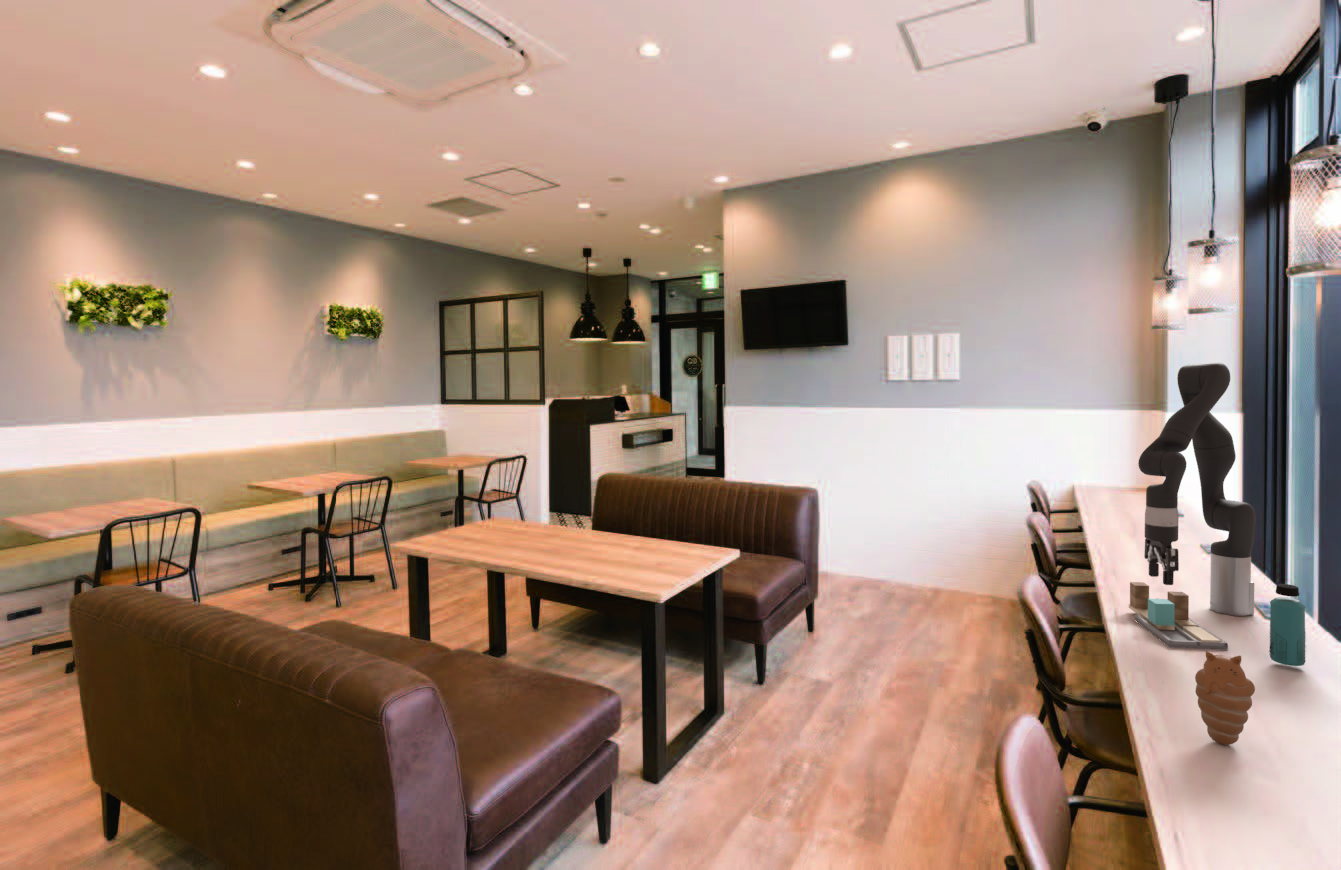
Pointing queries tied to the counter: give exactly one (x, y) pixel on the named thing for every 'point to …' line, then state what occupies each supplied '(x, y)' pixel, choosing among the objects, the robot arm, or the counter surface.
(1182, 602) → the short strip
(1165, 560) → the robot arm
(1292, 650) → the beverage bottle
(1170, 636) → the lane board
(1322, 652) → the counter surface
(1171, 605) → the teal cube
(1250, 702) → the cat ice cream
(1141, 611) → the cube strip
